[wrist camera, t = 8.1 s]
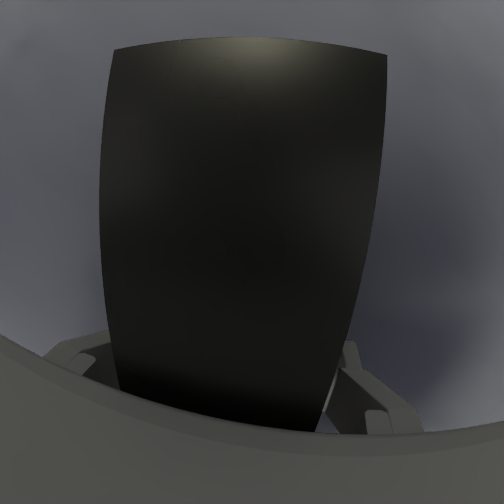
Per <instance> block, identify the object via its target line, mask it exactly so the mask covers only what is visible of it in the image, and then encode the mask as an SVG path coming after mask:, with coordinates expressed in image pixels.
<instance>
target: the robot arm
mask: <svg viewBox="0 0 504 504" xmlns="http://www.w3.org/2000/svg"><path fill="white" fill-rule="evenodd" d="M322 412H325V413H326V415H327V416H328V417H329V419H330V420H331V422H332V423H333V424H334V426H335V427H336V428H337V430H338V431H339V433H340V434H332V433H317V432H305V431H295V430H286V429H278V428H271V427H264V426H257V425H251V424H245V423H240V422H234V421H229V420H224V419H219V418H215V417H210V416H206V415H201V414H197V413H193V412H189V411H185V410H181V409H178V408H174V407H170V406H167V405H163V404H160V403H157V402H153V401H150V400H147V399H144V398H141V397H138V396H135V395H132V394H129V393H126V392H123V391H120V386H119V382H118V377H117V372H116V368H115V362H114V357H113V352H112V346H111V340H110V334H109V330H106V331H102V332H98V333H94V334H90V335H87V336H83V337H79V338H75V339H71V340H67V341H63V342H60V343H59V344H57V345H56V346H55V347H54V348H53V349H52V350H50V351H49V352H48V353H47V354H46V355H44V356H43V357H41V356H39V355H37V354H35V353H33V352H32V351H30V350H28V349H26V348H24V347H22V346H20V345H19V344H17V343H15V342H13V341H12V340H10V339H8V338H6V337H5V336H3V335H1V334H0V504H504V421H500V422H495V423H490V424H485V425H479V426H473V427H467V428H460V429H453V430H445V431H435V432H424V430H423V427H422V424H421V421H420V418H419V415H418V413H417V410H416V408H414V407H413V406H412V405H411V404H409V403H408V402H407V401H405V400H404V399H403V398H402V397H400V396H399V395H398V394H397V393H395V392H394V391H393V390H391V389H390V388H389V387H388V386H386V385H385V384H384V383H383V382H381V381H380V380H379V379H378V378H376V377H375V376H374V375H373V374H371V373H370V372H369V371H368V370H363V368H362V364H361V361H360V357H359V353H358V349H357V345H356V342H355V341H352V340H345V343H344V346H343V350H342V353H341V356H340V360H339V363H338V366H337V369H336V372H335V376H334V379H333V382H332V385H331V388H330V391H329V393H328V396H327V399H326V402H325V405H324V408H323V410H322Z"/></svg>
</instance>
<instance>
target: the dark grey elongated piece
mask: <svg viewBox="0 0 504 504" xmlns="http://www.w3.org/2000/svg"><path fill="white" fill-rule="evenodd" d="M386 92H387V55H385V54H380V53H376V52H372V51H367V50H362V49H357V48H352V47H346V46H340V45H334V44H328V43H320V42H312V41H303V40H293V39H279V38H259V37H219V38H199V39H186V40H175V41H166V42H158V43H151V44H144V45H138V46H132V47H127V48H122V49H117V50H114V54H113V59H112V65H111V70H110V76H109V82H108V89H107V96H106V104H105V112H104V121H103V132H102V144H101V160H100V188H99V219H100V247H101V263H102V276H103V287H104V296H105V305H106V313H107V320H108V327H109V334H110V340H111V346H112V352H113V357H114V362H115V368H116V372H117V377H118V382H119V386H120V391H123V392H126V393H129V394H132V395H135V396H138V397H141V398H144V399H147V400H150V401H153V402H157V403H160V404H163V405H167V406H170V407H174V408H178V409H181V410H185V411H189V412H193V413H197V414H201V415H206V416H210V417H215V418H219V419H224V420H229V421H234V422H240V423H245V424H251V425H257V426H264V427H271V428H278V429H286V430H295V431H305V432H315V429H316V426H317V424H318V421H319V418H320V416H321V413H322V410H323V408H324V405H325V402H326V399H327V396H328V393H329V391H330V388H331V385H332V382H333V379H334V376H335V372H336V369H337V366H338V363H339V360H340V356H341V353H342V350H343V346H344V343H345V339H346V336H347V332H348V329H349V325H350V321H351V318H352V314H353V310H354V306H355V302H356V298H357V294H358V290H359V285H360V281H361V277H362V272H363V268H364V263H365V258H366V253H367V248H368V243H369V238H370V232H371V227H372V221H373V215H374V209H375V203H376V196H377V189H378V182H379V174H380V166H381V157H382V148H383V137H384V125H385V111H386Z"/></svg>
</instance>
